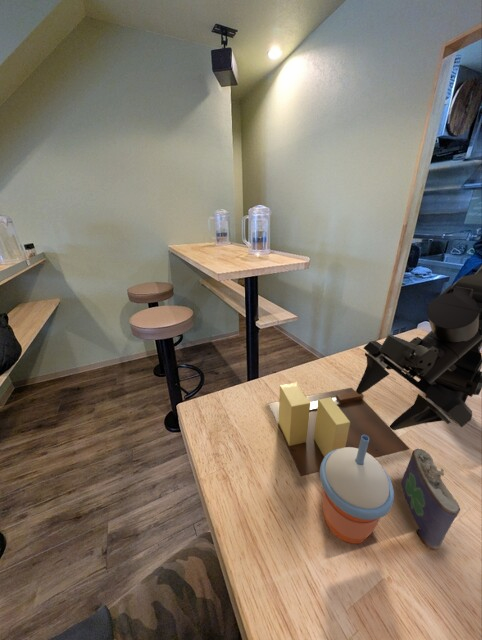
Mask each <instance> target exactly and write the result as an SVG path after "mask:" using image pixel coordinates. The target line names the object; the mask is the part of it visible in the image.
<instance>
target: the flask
mask: <svg viewBox="0 0 482 640" xmlns="http://www.w3.org/2000/svg"><path fill="white" fill-rule="evenodd" d="M444 471H445V470H444V469H443V468H440V470H439V469H438V467H437V466H436V465H435V462H434V460H433V458H432V456H431V454H430V453H429V452H427V451H426V450H424V449H423V448H415V449H413V451H412V453H411V456H410V458H409V461H408V464H407V467H406V468H405V471H404V473H403V476H402V479H401V482H400V484H401V488H402V492H403V495H404V500H405V501H406V505H407V507H408V509H409V510H410V513H411V515H412V517H413V519H414V521H415V523H416V525H417V526H418V528H419V529H415V533H416V535H417V537H418V538H419V539H420V541H421V542H422V544H424V546H425V547H427V548H429V549H431V550H439V549H440V547H442V544H443V541H444V539H445V538H446V535H447V533H448V531H449V530H450V528H451V526H452V524H453V523H454V521H455V519H456V518H457V517H458V515H459V513H460V511H461V508H460V505H459V503H458V502H457V500H456V498H454V496H453V495H452V493H451V492H450V491H449V489H448V488H447V486H446V484H445V483H444V482H443V480H442V478H441V477H444V475H445V472H444Z"/></svg>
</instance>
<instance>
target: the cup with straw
mask: <svg viewBox="0 0 482 640" xmlns="http://www.w3.org/2000/svg"><path fill="white" fill-rule="evenodd" d="M368 443H369V437H368V436H367V435H362V436H361V440H360V445H359V449H358V448H353V447H345V448H340V449H336V450H333V451H331V452H330V453H328V454H327V455H326V456H325V457H324V459H323V461H322V463H321V466H320V472H319V478H320V479H319V480H320V483H321V486H322V498H321V499H322V501H321V503H322V504H321V505H322V509H323V510H322V511H323V516H324V520H325V523H326V525H327V526H328V528H329V529H330V531H331V532H332V533H333V534H334V535H335V537H337V538H339V539H340V540H342V541H343V542H345V543H349V544H360V543H362V542H364V541H366V539H367V538H368V537H369V536H370V535H371V534H372V533H373V532H374V530H375V528H376V526H377V525H378V523H379V522H380V520H381V518H383V517H385V516H386V515H387V514H389V513H390V511H391V509H392V507H393V505H394V501H395V490H394V485H393V483H392V480H391V478H390V476H389V474H388V473H387V471H386V469H385V468H384V467H383V466H382V464H381V463H380V462H379V461H378V460H377V458H374V457H373V456H371V455H370V454H369V453H367V452H366V451H367V447H368Z"/></svg>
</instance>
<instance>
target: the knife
mask: <svg viewBox="0 0 482 640" xmlns="http://www.w3.org/2000/svg"><path fill="white" fill-rule="evenodd" d="M364 396H365V395H364V394H363V393H361V394H358V393H357V392H356V390H354V392H349V393H344V394H339V395H336V397H334V398H332V399H333V401H334V402H335V403H336V404H337V405H340V404H342V403H347V402H352V401H357V400H362V399H363V400H364ZM317 408H318V401H314V402H310V411H311V410H316V409H317Z"/></svg>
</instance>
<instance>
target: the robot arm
mask: <svg viewBox="0 0 482 640" xmlns="http://www.w3.org/2000/svg"><path fill="white" fill-rule="evenodd" d="M426 316H427V319H428V323H429V327H430V331H429V332H428V333H427V334H426V335H425V336H424V337H423V338H421V337H419V336H416V337H414V338H412V340H410V341H408V340H406V339H403V338H401V337H399V336H395V335H392V334H388V335H387V336H386V338H385V340H384V341H383V343H380V342H379V341H377V340H371V341H369V342H367V344H365V346H363V350H365V351H366V352H364V356H365V357H366V367H365V370H364V373H363V374H362V377H361V378H360V381H359V383H358V385H357V387H356V390H355V391H356V392H357V393H358V394H361V393H362V394H363V393H365V392H366V391H368V390H370V389H371V388H372V387H374V386H375V385H377V384H378V383H379V382H381V381H383V380H384V379H385V378H386V377H388V376H389V375H390V372H389V371H390V370H393V371H394V372H395V373H397V374H398V375H400V376H401V377H402V378H403V379H404V380H406V381H408V383H410V384H411V385H412V386H414V387H415V388H416V389H418V391H421V392H422V393H423V394H424V397H423V396H422V395H421V394H420V393H418V394H417V396H416V398H415V400H414V403H413V405H411V406H410V407H409V408H408V409H406V410H405V411H403V413H401V414H400V415H399V416H398V417H397V418H396V419H394V420H393V422H392V423H391V424H390V425H389V428H390V429H391V430H392V431H397V430H402V429H406V428H410V427H414V426H418V425H422V424H423V425H424V424H429V423H436V422H444V423H445V424H447V425H449V424H451V421H452V422H454V423H455V424H456V425H458V427H460V428H463V427H464V426H465V425H466V424H468V423H469V422H470V421H471V420H472V417H473V410H472V409H471V408H470V407H469V406H468V405H467V403H466V402H467V399H468V397H471V398H472V397H473V396H479V395H480V393H481V391H482V352H481V350H482V265H480V267H479V268H478V270H477V271H476V272H475V273H474V274H469V275H463V276H461V277H460V278H458V279H457V280H456V281H455V282H454V283H453V284H452V285H449V286H448V287H447V288H446V289H445V290H443V291H442V292H441V293H440V294H439V295H438V296H436V297H435V298H433V299H432V300H430V302H429V303H428V304H427V307H426ZM388 370H389V371H388ZM415 377H416V378H417V379H419V380H417V379H415ZM450 420H451V421H450Z"/></svg>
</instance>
